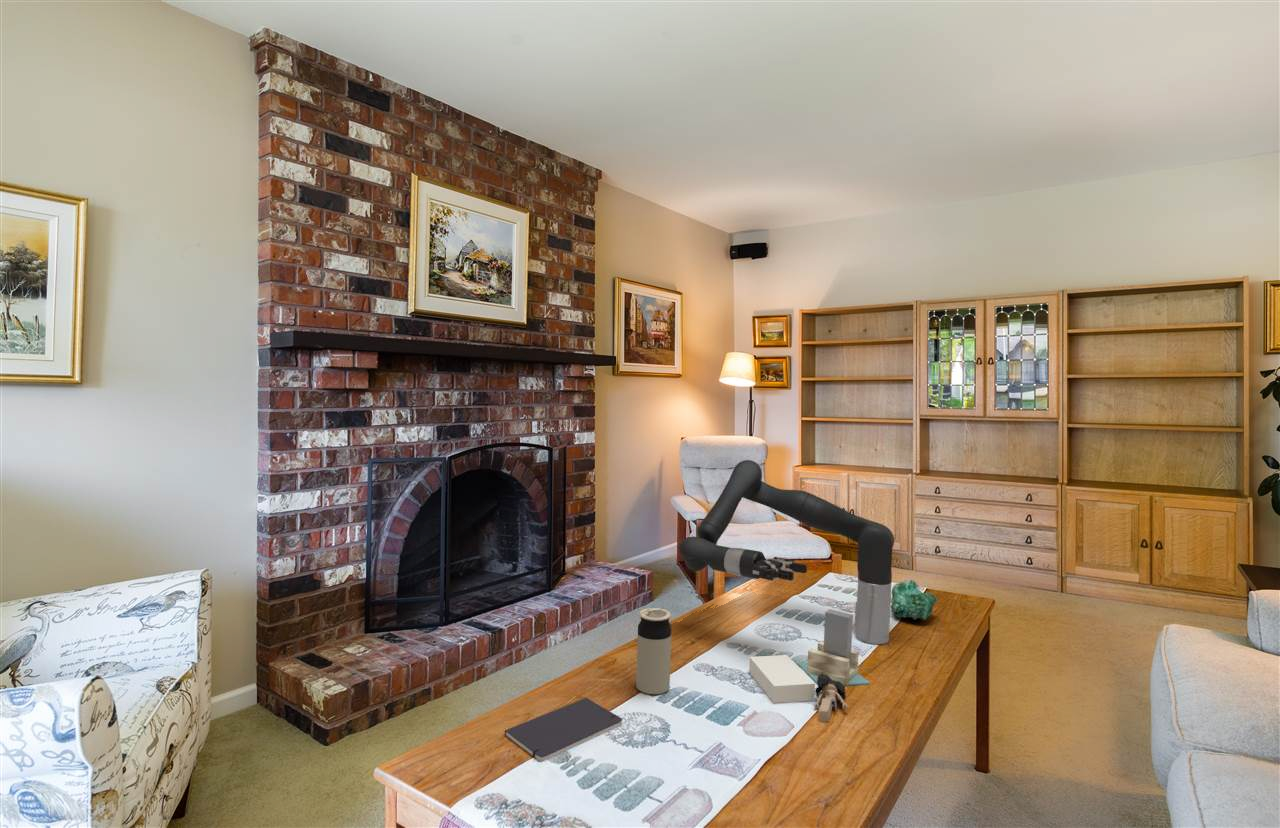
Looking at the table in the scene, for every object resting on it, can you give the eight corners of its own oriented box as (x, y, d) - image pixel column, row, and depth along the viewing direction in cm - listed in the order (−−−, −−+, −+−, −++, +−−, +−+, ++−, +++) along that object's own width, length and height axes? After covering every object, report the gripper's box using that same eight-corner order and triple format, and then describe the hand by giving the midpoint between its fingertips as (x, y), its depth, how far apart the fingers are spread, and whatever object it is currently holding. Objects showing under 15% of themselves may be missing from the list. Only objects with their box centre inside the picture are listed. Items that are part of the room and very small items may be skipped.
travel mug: (676, 687, 154) (678, 613, 153) (654, 699, 148) (656, 622, 147) (651, 676, 159) (653, 605, 158) (629, 687, 153) (631, 612, 153)
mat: (797, 664, 169) (797, 662, 169) (843, 661, 172) (843, 660, 171) (820, 687, 156) (820, 685, 156) (869, 684, 159) (869, 682, 159)
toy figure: (849, 727, 139) (845, 692, 153) (846, 699, 139) (843, 667, 153) (815, 726, 141) (814, 691, 155) (812, 698, 141) (812, 666, 155)
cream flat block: (749, 672, 163) (749, 656, 163) (786, 670, 165) (786, 654, 165) (773, 703, 148) (774, 686, 148) (814, 700, 150) (814, 683, 149)
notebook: (585, 704, 146) (504, 737, 131) (586, 697, 146) (504, 730, 131) (623, 726, 137) (540, 765, 122) (624, 719, 137) (541, 757, 122)
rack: (806, 672, 163) (807, 651, 163) (820, 661, 170) (821, 640, 170) (845, 684, 157) (846, 662, 157) (858, 672, 164) (859, 651, 164)
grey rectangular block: (822, 666, 164) (825, 612, 163) (827, 662, 166) (829, 609, 166) (846, 673, 160) (848, 617, 160) (850, 669, 163) (852, 614, 162)
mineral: (873, 606, 217) (875, 577, 216) (917, 606, 218) (919, 577, 218) (901, 627, 198) (903, 595, 198) (949, 626, 200) (951, 594, 200)
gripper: (732, 554, 173) (788, 564, 163) (756, 544, 184) (810, 553, 174) (731, 582, 173) (788, 593, 163) (756, 570, 184) (810, 580, 175)
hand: (799, 572), depth 169 cm, fingers open, 8 cm apart
